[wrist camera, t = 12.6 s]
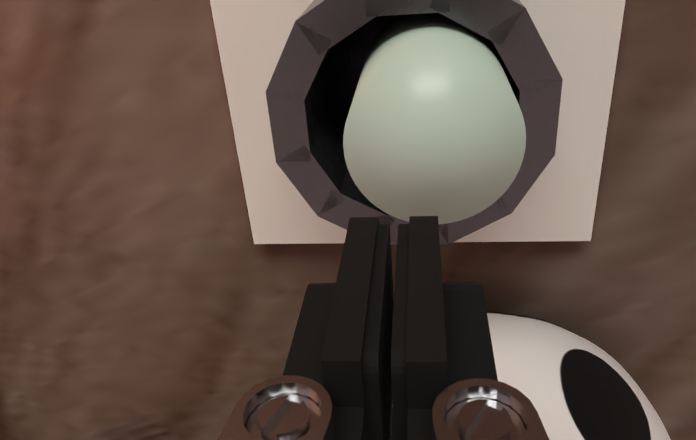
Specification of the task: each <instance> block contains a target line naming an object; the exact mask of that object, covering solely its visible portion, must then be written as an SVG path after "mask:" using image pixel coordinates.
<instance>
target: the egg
mask: <svg viewBox="0 0 696 440" xmlns="http://www.w3.org/2000/svg"><path fill="white" fill-rule="evenodd" d="M525 148H526V129H525V122H524V118H523V114H522V112H521V109H520V107H519V104H518V102H517V100H516V97H515V95H514V93H513V90H512V88H511V86H510V84H509V81H508V79H507V77H506V75H505V72H504V70H503V68H502V66H501V63H500V61H499V59H498V57H497V54H496V52H495V50H494V48H493V45H492V43H491V41H490V40H489V39H487V38H485V37H483V36H481V35H480V34H478V33H476V32H474V31H472V30H470V29H468V28H466V27H465V26H463V25H461V24H459V23H457V22H455V21H453V20H451V19H450V18H448V17H446V16H444V15H442V14H440V13H423V14H406V15H396V16H395V17H394V18H392V19H391V20H389V21H388V22H387V23H386V24H385V25H384V26H383V27H382V28H381V29H380V31H379V32H378V33H377V35H376V36H375V38H374V39H373V41H372V43H371V45H370V47H369V50H368V53H367V56H366V59H365V63H364V66H363V69H362V72H361V75H360V78H359V82H358V85H357V88H356V91H355V94H354V98H353V101H352V104H351V107H350V110H349V113H348V117H347V120H346V123H345V128H344V134H343V149H344V157H345V161H346V165H347V168H348V170H349V173H350V175H351V177H352V179H353V181H354V183H355V184H356V186H357V187H358V189H359V190H360V191H361V193H362V194H363V195H364V196H365V197H366V198H367V199H368V200H369V201H370V202H371V203H372V204H374V205H375V206H376V207H377V208H379V209H380V210H382V211H384V212H385V213H387V214H389V215H391V216H393V217H396V218H398V219H401V220H404V221H407V222H409V216H438V224H446V223H453V222H456V221H460V220H464V219H466V218H469V217H471V216H474V215H476V214H478V213H479V212H481V211H483V210H485V209H486V208H488V207H489V206H491V205H492V204H493V203H494V202H495V201H497V200H498V199H499V198H500V197H501V196H502V195H503V194H504V193H505V192H506V190H507V189H508V188H509V187H510V185H511V184H512V182H513V181H514V179H515V177H516V175H517V173H518V172H519V170H520V167H521V164H522V161H523V158H524V153H525Z"/></svg>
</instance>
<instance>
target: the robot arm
mask: <svg viewBox="0 0 696 440" xmlns="http://www.w3.org/2000/svg"><path fill="white" fill-rule="evenodd" d="M392 409H393V417H394V435H395V440H549V438H548V435H547V433H546V431H545V428H544V426H543V424H542V421H541V419H540V417H539V414H538V412H537V410H536V409H535V407H534V406H533V404H532V402H531V401H530V399H529V398H527V397H526V396H525V395H524V394H523V393H521V392H520V391H519V390H518V389H516V388H514V387H512V386H510V385H508V384H506V383H504V382H500V381H498V378H497V372H496V366H495V360H494V354H493V348H492V341H491V335H490V329H489V323H488V317H487V311H486V305H485V299H484V292H483V287H482V284H481V283H442V272H441V256H440V240H439V224H438V216H409V224H398V237H397V255H396V273H395V291H394V300H393V279H392V258H391V238H390V225H389V224H379V218H378V217H350V219H349V224H348V228H347V233H346V238H345V243H344V248H343V253H342V258H341V263H340V268H339V273H338V277H337V282H336V283H319V284H309V285H308V287H307V290H306V293H305V297H304V300H303V304H302V308H301V311H300V315H299V319H298V322H297V326H296V329H295V333H294V337H293V340H292V344H291V348H290V351H289V355H288V359H287V362H286V366H285V370H284V373H283V376H279V377H274V378H269V379H267V380H265V381H263V382H261V383H258V384H256V385H255V386H253V387H252V388H251V389H250V390H248V391H247V392H246V393H244V395H243V396H242V397H241V399H240V400H239V401H238V403H237V404H236V406H235V407H234V409H233V411H232V413H231V415H230V417H229V418H228V420H227V422H226V424H225V426H224V428H223V429H222V431H221V433H220V435H219V437H218V439H217V440H391V430H392Z"/></svg>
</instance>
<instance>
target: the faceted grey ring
mask: <svg viewBox="0 0 696 440" xmlns="http://www.w3.org/2000/svg"><path fill="white" fill-rule="evenodd" d="M423 13H440V14H442V15H444V16H446V17H448V18H450V19H451V20H453V21H455V22H457V23H459V24H461V25H463V26H465V27H466V28H468V29H470V30H472V31H474V32H476V33H478V34H480V35H481V36H483V37H485V38H487V39H489V40H490V41H491V43H492V45H493V48H494V50H495V52H496V54H497V57H498V59H499V61H500V63H501V66H502V68H503V70H504V72H505V75H506V77H507V79H508V81H509V84H510V86H511V88H512V90H513V93H514V95H515V97H516V100H517V102H518V104H519V107H520V109H521V112H522V114H523V118H524V122H525V129H526V148H525V153H524V158H523V161H522V164H521V167H520V170H519V172H518V173H517V175H516V177H515V179H514V181H513V182H512V184H511V185H510V187H509V188H508V189H507V190H506V192H505V193H504V194H503V195H502V196H501V197H500V198H499V199H498V200H497V201H495V202H494V203H493V204H492V205H491V206H489V207H488V208H486V209H485V210H483V211H481V212H479V213H478V214H476V215H474V216H471V217H469V218H466V219H464V220H460V221H456V222H453V223H446V224H439V240H440V245H448V244H450V243H452V242H454V241H457V240H459V239H461V238H463V237H465V236H467V235H469V234H471V233H473V232H475V231H477V230H479V229H481V228H483V227H485V226H487V225H489V224H491V223H493V222H495V221H497V220H499V219H501V218H503V217H505V216H507V215H509V214H512V212H513V211H514V210H515V208H516V207H517V206H518V204H519V203H520V202H521V200H522V199H523V197H524V196H525V195H526V193H527V192H528V191H529V189H530V188H531V187H532V185H533V184H534V183H535V181H536V180H537V178H538V177H539V176H540V174H541V173H542V172H543V170H544V169H545V168H546V166H547V165H548V164H549V162H550V161H551V159H552V158H553V157H554V155H555V150H556V140H557V130H558V121H559V111H560V101H561V91H562V81H563V79H562V77H561V75H560V73H559V71H558V69H557V67H556V65H555V63H554V61H553V60H552V58H551V56H550V54H549V52H548V50H547V48H546V46H545V44H544V42H543V40H542V38H541V36H540V35H539V33H538V31H537V29H536V27H535V25H534V23H533V21H532V19H531V17H530V15H529V13H528V12H527V10H526V8H525V7H524V5H523V4H522V3H521V2H520V0H314V1H313V2H312V3H311V4H310V5H309V6H308V7H307V9H306V10H305V11H304V12H303V13H302V14H301V15H300V16H299V18H298V19H297V20H296V21H295V23H294V25H293V27H292V30H291V32H290V35H289V37H288V39H287V42H286V44H285V47H284V49H283V51H282V54H281V56H280V59H279V61H278V63H277V66H276V68H275V71H274V73H273V75H272V78H271V80H270V83H269V85H268V87H267V90H266V99H267V106H268V112H269V119H270V126H271V133H272V139H273V146H274V153H275V160H276V163H277V164H278V166H279V167H280V168H281V170H282V171H283V172H284V173H285V175H286V176H287V177H288V179H289V180H290V181H291V182H292V184H293V185H294V186H295V188H296V189H297V190H298V191H299V193H300V194H301V195H302V197H303V198H304V199H305V201H306V202H307V203H308V204H309V206H310V207H311V208H312V210H313V211H314V212H315V213H316V215H317V216H318V217H320V218H322V219H324V220H327V221H329V222H331V223H333V224H335V225H337V226H339V227H342V228H344V229H346V230H347V228H348V224H349V219H350V217H378V218H379V224H389V225H390V238H391V245H397V237H398V224H409V222H407V221H404V220H401V219H398V218H396V217H393V216H391V215H389V214H387V213H385V212H384V211H382V210H380V209H379V208H377V207H376V206H375V205H374V204H372V203H371V202H370V201H369V200H368V199H367V198H366V197H365V196H364V195H363V194H362V193H361V191H360V190H359V189H358V187H357V186H356V184H355V183H354V181H353V179H352V177H351V175H350V173H349V170H348V168H347V165H346V161H345V157H344V149H343V134H344V128H345V123H346V120H347V117H348V113H349V110H350V107H351V104H352V101H353V98H354V94H355V91H356V88H357V85H358V82H359V78H360V75H361V72H362V69H363V66H364V63H365V59H366V56H367V53H368V50H369V47H370V45H371V43H372V41H373V39H374V38H375V36H376V35H377V33H378V32H379V31H380V29H381V28H382V27H383V26H384V25H385V24H386V23H387V22H388V21H389V20H391V19H392V18H394V17H395V16H396V15H406V14H423Z"/></svg>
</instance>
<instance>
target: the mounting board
mask: <svg viewBox="0 0 696 440" xmlns="http://www.w3.org/2000/svg"><path fill="white" fill-rule="evenodd" d="M313 1H314V0H210V3H211V9H212V14H213V20H214V25H215V31H216V36H217V42H218V47H219V53H220V59H221V64H222V70H223V75H224V81H225V86H226V92H227V97H228V103H229V108H230V114H231V119H232V125H233V130H234V136H235V141H236V147H237V152H238V158H239V163H240V169H241V174H242V180H243V185H244V191H245V196H246V202H247V207H248V213H249V218H250V224H251V229H252V235H253V240H254V244H316V243H345V238H346V233H347V230H346V229H344V228H342V227H339V226H337V225H335V224H333V223H331V222H329V221H327V220H324V219H322V218H320V217H318V216H317V215H316V213H315V212H314V211H313V210H312V208H311V207H310V206H309V204H308V203H307V202H306V201H305V199H304V198H303V197H302V195H301V194H300V193H299V191H298V190H297V189H296V188H295V186H294V185H293V184H292V182H291V181H290V180H289V179H288V177H287V176H286V175H285V173H284V172H283V171H282V170H281V168H280V167H279V166H278V164H277V163H276V160H275V153H274V146H273V139H272V133H271V126H270V119H269V112H268V106H267V99H266V90H267V87H268V85H269V83H270V80H271V78H272V75H273V73H274V71H275V68H276V66H277V63H278V61H279V59H280V56H281V54H282V51H283V49H284V47H285V44H286V42H287V39H288V37H289V35H290V32H291V30H292V27H293V25H294V23H295V21H296V20H297V19H298V18H299V16H300V15H301V14H302V13H303V12H304V11H305V10H306V9H307V7H308V6H309V5H310V4H311V3H312V2H313ZM520 2H521V3H522V4H523V5H524V7H525V8H526V10H527V12H528V13H529V15H530V17H531V19H532V21H533V23H534V25H535V27H536V29H537V31H538V33H539V35H540V36H541V38H542V40H543V42H544V44H545V46H546V48H547V50H548V52H549V54H550V56H551V58H552V60H553V61H554V63H555V65H556V67H557V69H558V71H559V73H560V75H561V77H562V79H563V81H562V91H561V101H560V111H559V121H558V130H557V140H556V150H555V155H554V157H553V158H552V159H551V161H550V162H549V164H548V165H547V166H546V168H545V169H544V170H543V172H542V173H541V174H540V176H539V177H538V178H537V180H536V181H535V183H534V184H533V185H532V187H531V188H530V189H529V191H528V192H527V193H526V195H525V196H524V197H523V199H522V200H521V202H520V203H519V204H518V206H517V207H516V208H515V210H514V211H513V212H512V214H509V215H507V216H505V217H503V218H501V219H499V220H497V221H495V222H493V223H491V224H489V225H487V226H485V227H483V228H481V229H479V230H477V231H475V232H473V233H471V234H469V235H467V236H465V237H463V238H461V239H459V240H457V241H454V242H529V241H591V235H592V229H593V222H594V215H595V208H596V201H597V194H598V187H599V180H600V173H601V166H602V159H603V152H604V146H605V139H606V132H607V125H608V118H609V111H610V104H611V97H612V90H613V83H614V76H615V69H616V62H617V56H618V49H619V42H620V35H621V28H622V21H623V14H624V7H625V0H520Z"/></svg>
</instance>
